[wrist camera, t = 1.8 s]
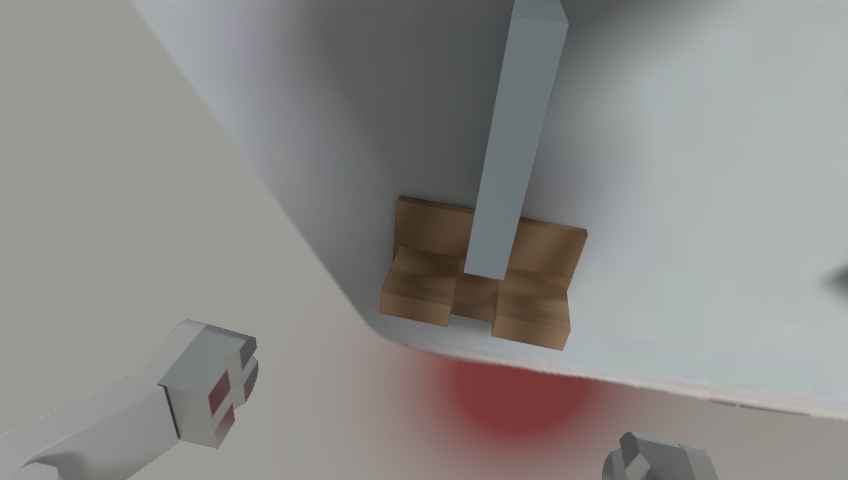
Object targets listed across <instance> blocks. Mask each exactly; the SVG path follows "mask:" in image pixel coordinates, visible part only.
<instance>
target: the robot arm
mask: <svg viewBox="0 0 848 480" xmlns="http://www.w3.org/2000/svg"><path fill="white" fill-rule="evenodd" d="M256 348H257V346H256V338H255V337H251V336H248V335H244V334H240V333H237V332H233V331H230V330H226V329H222V328H219V327H215V326H212V325H208V324H204V323H201V322H197V321H193V320H189V319H187V320H185V321H184V322H182V323H180V324H179V325H178V326H177V327H176V328H175V329H174V331H173V332H172V333H171V334H170V335H169V336H168V337H167V339H166V340H165V341H164V342H163V343H162V344H161V345H160V347H158V349H157V350H156V351H155V352H154V353H153V354H152V355H151V357H150V358H149V359H148V360H147V361H146V362H145V363H144V364H143V365H142V367H141V368H140V369H139V370H138V371H137V372H136V373H135V374H134V376H133V377H132V378H129V377H122V378H120V379H118V380H116V381H114V382H112V383H110V384H107V385H105V386H103V387H101V388H99V389H97V390H95V391H93V392H90V393H88V394H86V395H84V396H82V397H80V398H78V399H76V400H73V401H71V402H69V403H67V404H65V405H63V406H61V407H58V408H56V409H55V410H52V411H50V412H48V413H46V414H44V415H41V416H39V417H37V418H35V419H33V420H31V421H29V422H27V423H24V424H22V425H20V426H18V427H16V428H14V429H12V430H9V431H7V432H5V433H3V434H1V435H0V480H126V479H128V478H129V477H131V476H132V475H134V474H135V473H136V472H138V471H139V470H141V469H142V468H143V467H145V466H146V465H148V464H149V463H150V462H152V461H153V460H154V459H156V458H157V457H159V456H160V455H162V454H163V453H164V452H166V451H167V450H169V449H170V448H171V447H173V446H174V445H176V444H177V443H179V440H182V441H186V442H191V443H195V444H200V445H204V446H208V447H212V448H216V449H218V448H219V447H220V445H221V443H222V442H223V440H224V438H225V437H226V435H227V433H228V431H229V430H230V428H231V426H232V425H233V423H234V421H235V418H234V409H236V408H237V407H239V406H241V405H242V404H244V403H246V401H247V399H248V397H249V396H250V394H251V392H252V390H253V387H254V385H255V382H256V379H257V374H258V361H257V360H256V358H255V357H254V356H253V353H254V351H255V350H256ZM620 445H621V448H620V449H617V450H614V451H611V452H610V454H609V455H608V457H607V458H606V460H605V463H604V467H603V472H602V480H718V477H717V474H716V472H715V469H714V466H713V464H712V461H711V459H710V456H709V455H708V454H707V453H706V451H705V450H702V449H699V448H694V447H690V446H686V445H681V444H677V443H676V442H672V441H668V440H664V439H660V438H655V437H651V436H647V435H643V434H639V433H634V432H627V433H625V434H624V435H623V436H622V438H621V439H620Z"/></svg>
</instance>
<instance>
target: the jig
mask: <svg viewBox="0 0 848 480" xmlns="http://www.w3.org/2000/svg"><path fill="white" fill-rule="evenodd" d="M474 214H475V210H474V209H469V208H463V207H458V206H452V205H446V204H441V203H435V202H430V201H424V200H419V199H413V198H407V197H402V196H399V198H398V200H397V208H396V223H395V239H394V254H393V264H392V266H391V269H390V271H389V274H388V276H387V278H386V281H385V283H384V286H383V288H382V291H381V302H380V313H382V314H387V315H392V316H397V317H402V318H406V319H411V320H416V321H421V322H426V323H430V324H435V325H440V326H445V327H447V325H448V321H449V316H450V314H455V315H460V316H465V317H470V318H475V319H479V320H484V321H489V322H493V325H492V336H493V337H498V338H503V339H507V340H512V341H517V342H522V343H527V344H531V345H536V346H541V347H546V348H551V349H556V350H560V351H562V350H563V348H564V346H565V343H566V341H567V338H568V336H569V333H570V331H571V329H570V319H569V309H568V299H567V290H568V287H569V284H570V281H571V279H572V276H573V273H574V271H575V268H576V265H577V263H578V260H579V257H580V255H581V252H582V249H583V247H584V244H585V241H586V238H587V236H588V234H587V230H586V229H580V228H575V227H569V226H564V225H558V224H553V223H547V222H541V221H536V220H530V219H525V218H519V222H518V226H517V230H516V234H515V238H514V242H513V246H512V249H511V253H510V257H509V261H508V265H507V269H506V273H505V277H504V280H499V279H493V278H488V277H483V276H478V275H473V274H468V273H464V268H465V263H466V257H467V252H468V247H469V241H470V236H471V231H472V225H473V220H474Z"/></svg>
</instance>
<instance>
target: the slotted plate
mask: <svg viewBox="0 0 848 480" xmlns="http://www.w3.org/2000/svg"><path fill="white" fill-rule="evenodd" d="M568 27H569V22H568V19H567V17H566V14H565V12H564V10H563V7H562V5H561V2H560V0H515V2H514V6H513V11H512V15H511V21H510V26H509V31H508V37H507V42H506V48H505V53H504V58H503V64H502V69H501V74H500V80H499V85H498V91H497V96H496V101H495V107H494V112H493V117H492V123H491V128H490V134H489V139H488V144H487V150H486V155H485V161H484V166H483V171H482V177H481V182H480V187H479V193H478V198H477V204H476V209H475V214H474V220H473V225H472V231H471V236H470V241H469V247H468V252H467V257H466V263H465V268H464V273H468V274H473V275H478V276H483V277H488V278H493V279H499V280H504V277H505V273H506V269H507V265H508V261H509V257H510V253H511V249H512V246H513V242H514V238H515V234H516V230H517V226H518V222H519V218H520V214H521V210H522V207H523V203H524V199H525V195H526V191H527V187H528V183H529V179H530V175H531V171H532V168H533V164H534V160H535V156H536V152H537V148H538V144H539V140H540V136H541V132H542V129H543V125H544V121H545V117H546V113H547V109H548V105H549V101H550V97H551V93H552V90H553V86H554V82H555V78H556V74H557V70H558V66H559V62H560V58H561V55H562V51H563V47H564V43H565V39H566V35H567V31H568Z"/></svg>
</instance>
